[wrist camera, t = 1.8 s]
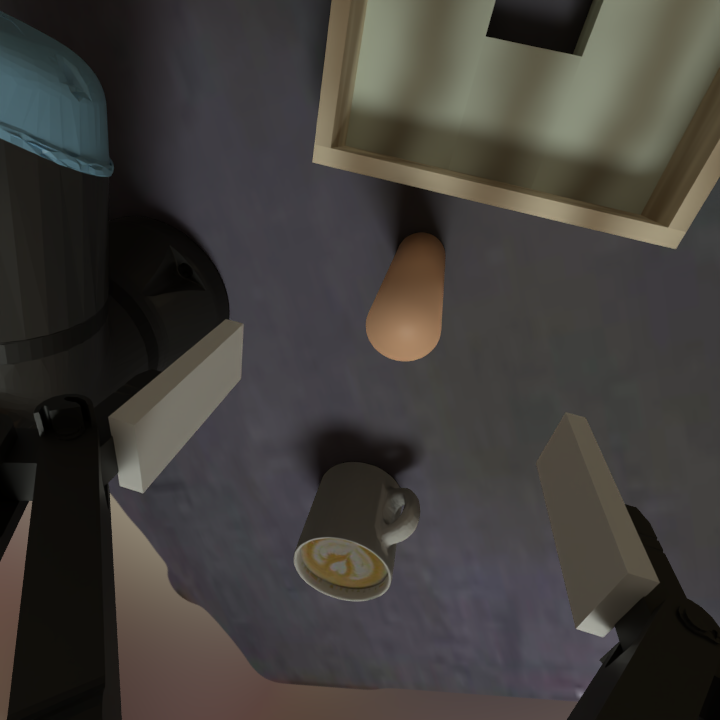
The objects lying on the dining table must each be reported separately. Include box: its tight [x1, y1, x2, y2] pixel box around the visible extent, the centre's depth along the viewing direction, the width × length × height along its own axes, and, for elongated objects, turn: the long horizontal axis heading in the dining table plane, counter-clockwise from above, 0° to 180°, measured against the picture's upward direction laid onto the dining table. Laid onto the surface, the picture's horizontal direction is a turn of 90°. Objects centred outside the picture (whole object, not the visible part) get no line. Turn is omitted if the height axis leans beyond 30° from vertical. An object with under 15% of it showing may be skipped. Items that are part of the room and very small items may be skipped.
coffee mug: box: [294, 462, 420, 601], centre depth 44 cm, size 13×10×10 cm
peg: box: [366, 232, 445, 361], centre depth 28 cm, size 4×4×14 cm
